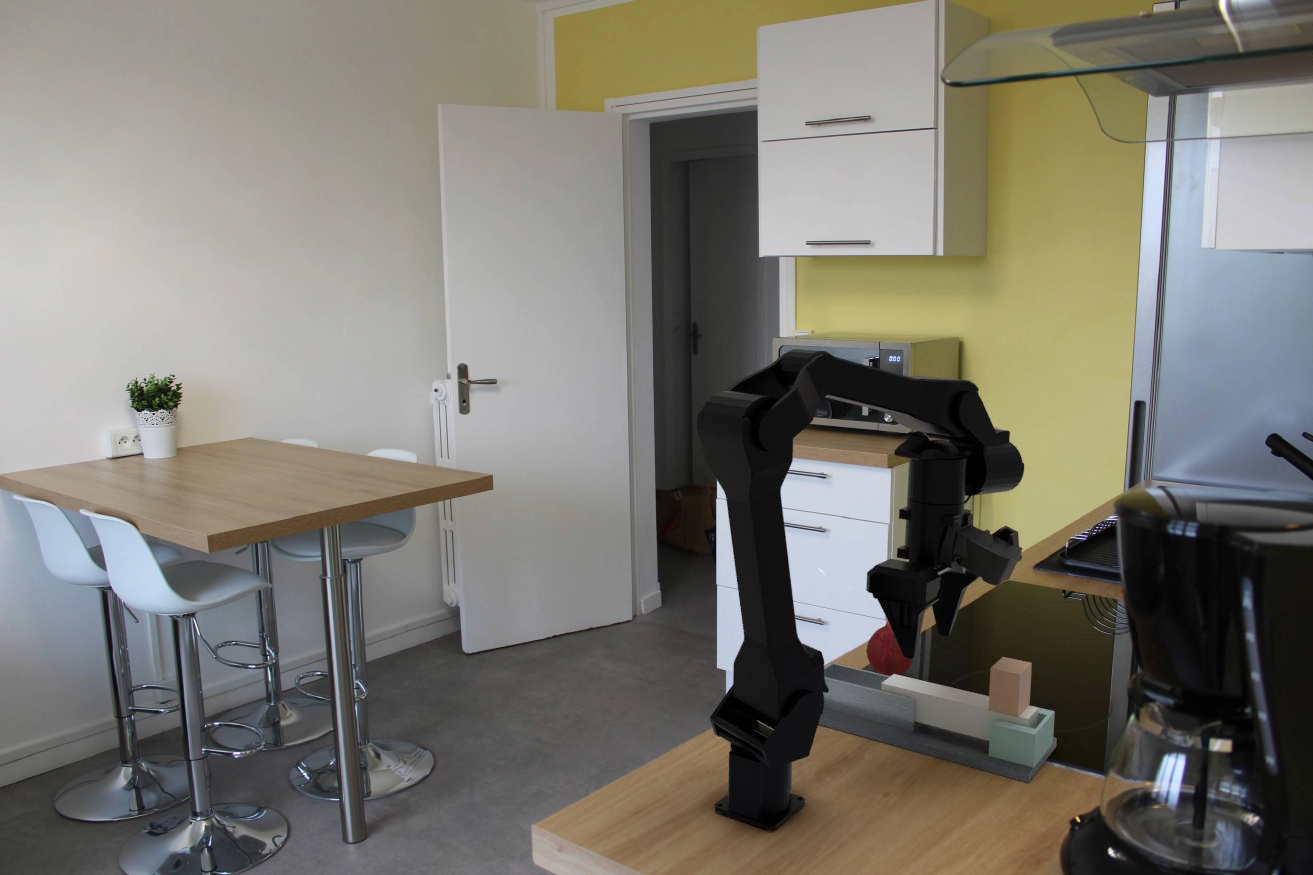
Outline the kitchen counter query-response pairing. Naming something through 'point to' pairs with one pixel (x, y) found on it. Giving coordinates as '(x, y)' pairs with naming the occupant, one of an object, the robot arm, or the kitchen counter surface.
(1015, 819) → the kitchen counter surface
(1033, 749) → the socket
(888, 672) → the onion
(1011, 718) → the sliding bolt
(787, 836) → the kitchen counter surface
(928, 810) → the kitchen counter surface
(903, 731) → the frame
